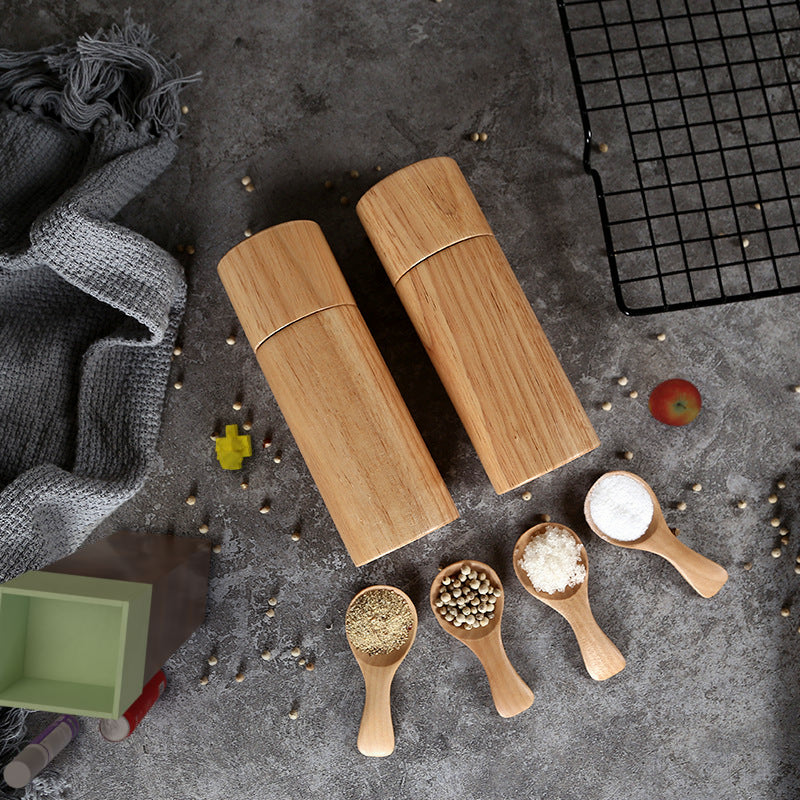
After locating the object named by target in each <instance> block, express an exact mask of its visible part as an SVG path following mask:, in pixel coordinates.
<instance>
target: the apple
mask: <svg viewBox="0 0 800 800" xmlns="http://www.w3.org/2000/svg"><path fill="white" fill-rule="evenodd" d="M702 401H703V400H702V396H701V392H700V391H699V389H698V387H696V385H695V384H693V383H692V382H691V381H689V380H687V379H684V378H679V377H678V378H677V377H676V378H670V379H666V380H664V381H662V382H660V383H659V384H658V385H656V387H654V389H653V390H652V391H651V393H650V395H649V397H648V400H647V408H648V411H649V413H650V415H651V416H652V417H653V419H655V420H656V421H658V422H660V423H662V424H664V425H666V426H670V427H682V426H686V425H688V424H690V423H692V422H693V421H695V419H696V418H697V417H698V416H699V415H700V412H701V409H702V404H703V403H702Z"/></svg>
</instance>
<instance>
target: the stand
mask: <svg viewBox="0 0 800 800" xmlns="http://www.w3.org/2000/svg"><path fill="white" fill-rule="evenodd" d="M212 546H213V540H212V539H205V538H196V537H189V536H188V537H187V536H179V535H170V534H161V533H152V532H145V531H144V532H143V531H136V530H128V529H127V530H126V529H120V530H117V531H116V532H114V533H112V534H109V535H108V536H105V537H103V538H101V539H99V540H97V541H94V542H93V543H91V544H89V545H86V546H84V547H83V548H80V549H78V550H76V551H74V552H72V553H70V554H68V555H66V556H63V557H61V558H60V559H58V560H55V561H53V562H51V563H49V564H47V565H45V566H43V567H41V568H39V569H36V571H42V572H50V573H59V574H67V575H76V576H85V577H93V578H102V579H110V580H119V581H127V582H136V583H145V584H152V595H151V605H150V616H149V626H148V636H147V647H146V657H145V667H144V677H143V687H144V686H145V685H146V684H147V683H148V682H149V681H150V679H151V678H152V677H153V676H154V675H155V674H156V673H157V672H158V671H159V670H161V669H162V668H163V666H164V665H166V663H167V662H168V661H169V660H170V659H171V658H172V657H173V656H174V654H176V653H177V652H178V650H179V649H180V648H181V647H182V646H183V645H184V644H185V642H187V640H188V639H189V638H190V637H191V636H192V635H193V634H195V632H196V631H197V629H199V627H201V625H202V624H203V623H204V622H205V618H206V608H207V607H206V606H207V596H208V588H209V577H210V567H211V557H212V548H213V547H212Z"/></svg>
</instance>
